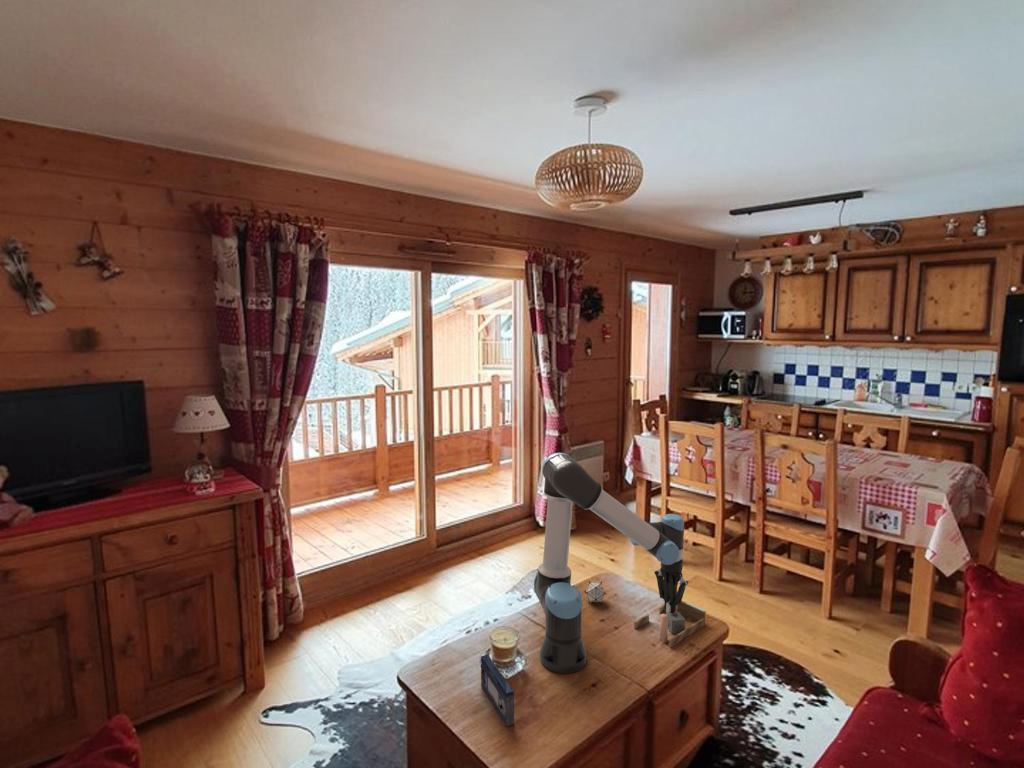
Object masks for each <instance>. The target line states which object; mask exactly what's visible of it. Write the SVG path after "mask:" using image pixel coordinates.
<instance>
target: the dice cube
mask: <svg viewBox="0 0 1024 768" xmlns="http://www.w3.org/2000/svg"><path fill="white" fill-rule="evenodd" d="M665 614H666V615H668V631H669V632H670V634H671V635H674V634H676V635H677V634H679V633H681V632H682V631H684V630H685V629H686V619H685V618H686V617H685V616H683V615H681V614H680V613H679V612H674V613H666V612H665Z"/></svg>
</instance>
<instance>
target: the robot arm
mask: <svg viewBox="0 0 1024 768" xmlns="http://www.w3.org/2000/svg"><path fill="white" fill-rule="evenodd" d="M542 476H543V478H544V485H543V486H544V488H543V489H544V490H543V493H544V495H545V496H546V497H547V507H546V518H545V519H546V520H545V530H544V531H545V533H544V547H543V556H542V558H543V559H542V563H540V565H538V569H537V573H536V574H535V575H534V576H535V577H534V581H533V587H534V588H533V589H534V590H533V591H534V593H535V595H536V597H537V600H539V601H538V602H539V603H540V605H541V608H542V610H543V613H544V615H545V616H544V618H545V635H544V638H543V641H542V643H541V647H540V651H539V659H540V663H541V664H542V665H543V667H544V668H546V669H547V670H549V671H551V672H554V673H557V674H572V673H576V672H579V671H581V670H583V669H584V667H586V664H587V651H586V650H587V649H586V648H585V645H584V641H583V638H582V620H583V619H582V617H583V615H582V614H583V612H582V610H583V599H582V598H583V597H582V592H581V591H580V590H579V589H578V587H577V586H575V585H572V583H571V581H572V570H571V568H570V567H569V565H568V564H569V552H570V551H569V550H570V542H571V541H570V539H571V529H572V528H571V527H572V517H573V515H572V513H573V505H574V504H575V505H577V506H578V507H580V508H581V509H582V510H585V511H586V510H589V511H591V512H593V513H594V514H595V515H597V516H598V517H599V518H601V519H602V520H604V522H606V523H608V524H609V525H611V526H612V527H613V528H615V529H616V530H618V531H619V532H620V533H621V534H622V535H624V536H626V537H627V538H629V540H630V543H631V544H632V545H633V546H639V547H641V548H643V549H644V550H645V551H647V552H648V553H649V554H651V555H652V556H653V557H654V558H655V559H656V560H657V561H658V562H660V568H658V569H656V570H655V571H654V575H655V577H656V581H657V587H658V594H659V598H660V599H662V600H663V602H664V603H663V605H664V608H665V610H666V611H665V614H666V613H674V612H675V611H676V605H678V604H679V603H681V601H683V597H684V594H685V590H686V587H687V586H688V585H689V580H685V579H684V577H683V576H684V574H683V573H682V572H683V561H684V559H683V556H684V538H685V537H684V536H685V523H684V522H685V521H684V518H683V517H682V516H680V515H678V514H675V513H667V514H663V516H662V519H661V521H656V522H654V521H652V522H647V521H645V520H644V519H643V518H642V517H640V516H638V515H637V513H634V512H633V511H632V510H631V509H629V508H628V507H626V506H625V505H624V504H622V503H621V502H620V501H619V500H617V499H616V498H615V497H613V496H612V495H610V494H609V493H608V492H606V491H605V490H604V489H603V485H602V484H601V483H600V482H599V481H597V480H596V479H595V478H593V476H592V475H590V474H589V472H588V471H587V470H586V469H585V468H584V467H583V466H582V465H581V464H580V463H579V462H577V461H576V459H575V458H574V457H573V456H571V455H569V454H567V453H565V452H555V453H552V454H551V455H548V457H546V459H545V460H544V461H543V464H542ZM678 585H679V586H678ZM677 591H678V592H677Z"/></svg>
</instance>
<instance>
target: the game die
mask: <svg viewBox="0 0 1024 768" xmlns="http://www.w3.org/2000/svg"><path fill="white" fill-rule="evenodd" d="M602 583H603V581H600V582H590V580H588V585H587V588H586V590H584V594H586V595H587V599H588V604H590V603H600V604H601V605H603V602H602V601H603V599H604V597H605V595H607V592H606V591H605V590H604V587H603V584H602Z"/></svg>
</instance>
